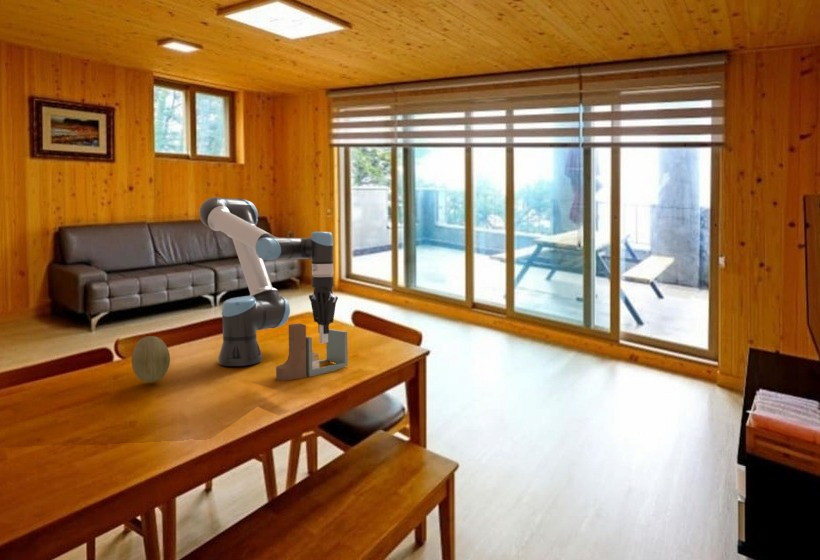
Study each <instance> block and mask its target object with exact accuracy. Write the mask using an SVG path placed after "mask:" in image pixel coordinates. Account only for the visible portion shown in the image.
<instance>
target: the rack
mask: <svg viewBox="0 0 820 560" xmlns="http://www.w3.org/2000/svg"><path fill="white" fill-rule="evenodd" d="M325 345H326V348H325V349H326V358H325V359H321V360H319V364H321V363H325V362H330V361H331V362H334V363H336V364H330V365H326V366H319V367H320V368H316V369H312V353H313V338H312V337H310V336H306V377H308V378H309V377H314V376H318V375H319V376H320V375H323V374H326V373H331V372H334V371H338V370H340V369H342V368H344V367H345V366H349V365H348V363H349V361H348V360H349V356H348V354H349V352H348V351H349V350H348V331H345V330H337V329H331V328H329V334H328V343H325Z"/></svg>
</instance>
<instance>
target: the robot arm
mask: <svg viewBox="0 0 820 560" xmlns="http://www.w3.org/2000/svg"><path fill="white" fill-rule="evenodd" d="M198 211H199V212H198V215H199V218H200V219H199V220H200V221H201V223H202V224H203V225H204V226H206V227H207V228H209V229H210V230H212V231H214V232H222V233H223V234H225V235H226V236H227V237H229V238H230V239H232V242H233V245H234V249H235V252H236V255H237V257H238V261H239V264H240V266H241V267H240V268H241V270H242V273H243V276H244V278H245V282H246V285H247V287H248V291H249V295H245V296H243V295H242V296H237V297H236V296H235V297H231V298H228V299H226V300H225V301H223V303H222V306H221V307H222V308H221V316H222V319H221V320H222V321H221V322H222V345H221V348H220V351H219V355H218V364H219V366H225V367H243V366H250V365H255V364H259V363H261V362H262V361H263V354H262V351H261V348H260V345H259V343H258V340H257V338H258V337H257V332H258V331H262V330H268V329H275V328H279V327H282V326H284V325H285V324H286V323H287V322H288V320H289V316H290V314H291V306H290V303H289V300H288V299H287V298H286V297H284V296H282V295H281V296H280V293H279V290H278V289H277V288H275V287H273V285H272V282H271V279H270V277H269V272H268V271H267V267H266V265H265V262H264V261H265V260H266V261H277V260H278V261H280V260H281V261H282V260H311V275H312V277H311V286H312V288H313V293H312V294H309V296H308V298H309V300H310V304H311V310H312V317H313V322H314V323H317V325H318V334H319V342H318V343H319V344H322V345H323V344H326V343H328V334H329V329H330V324H333V323H334V319H335V318H334V317H335V311H336V304H337V302H338V299H339V297H338V296H337V295H336V296H335V295H334V291H333V288H334V286H335V285H334V282H335V281H334V274H335V272H334V271H335V270H334V239H333V238H334V237H333V233H332V232H331V231H312V232H311V234H310V237H278V236H275V235H273V234H271V233H270V232H267V231H265V230H264V229H262V228H260V227H258V226H257V224H258V222H259V219H258V218H259V212H258V210H257V207H256V206H255V204H254V203H253V202H252V201H249V200H248V199H244V198H243V199H242V198H229V197H220V196H219V197H218V196H216V197H209V198H208V199H206V200H204V201H203V202H202V203H201V205H200V207H199V210H198Z"/></svg>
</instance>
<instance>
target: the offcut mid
mask: <svg viewBox="0 0 820 560" xmlns="http://www.w3.org/2000/svg"><path fill="white" fill-rule="evenodd" d="M319 361H320V360H319V359H318V360H317V361H312V369H313V368H317V367H320V363H319Z"/></svg>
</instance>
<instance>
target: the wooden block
mask: <svg viewBox="0 0 820 560" xmlns="http://www.w3.org/2000/svg"><path fill="white" fill-rule="evenodd" d="M306 337H307V326H306V324H303V323H292V324H288V356H287V359H286V361H284V363H283V364H280V365H276V366H275V370H276V372H275V376H276V377H275V378H276V380H278V381H280V382H285V381H290V380H298V379H303V378H307V376H306Z"/></svg>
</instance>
